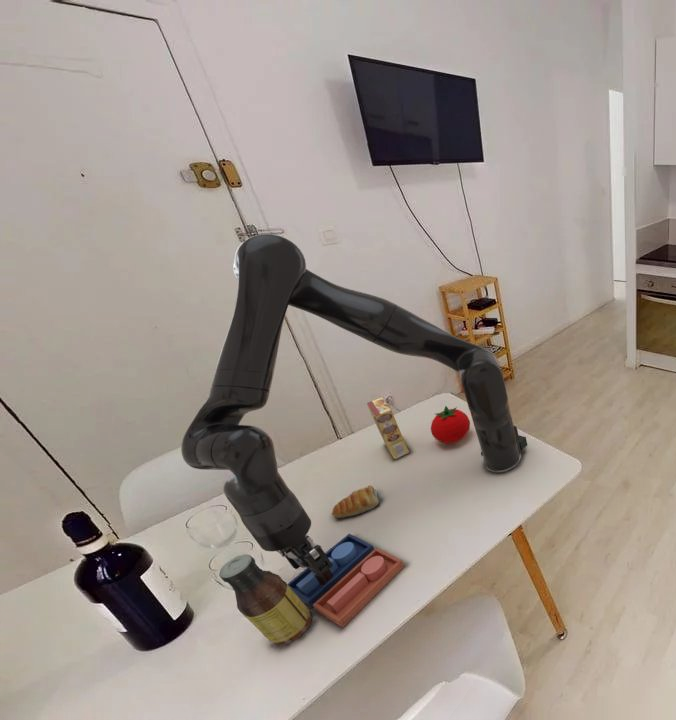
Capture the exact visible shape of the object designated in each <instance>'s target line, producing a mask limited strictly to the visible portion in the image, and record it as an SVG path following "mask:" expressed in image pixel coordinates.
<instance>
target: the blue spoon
mask: <svg viewBox="0 0 676 720" xmlns="http://www.w3.org/2000/svg"><path fill="white" fill-rule="evenodd" d="M357 554H358V552H357V550H356V548H355V546H354V544H353V543H351V542H345V543H342V544H340V545H339V546H337V547H336V548H335V549H334V550H333V552H332V554H331V556H332V558H333V559H332V558H330V557H329V558H328V559H329V560H330V562H331V563H332V565H333V566H332V567H331V568H330V571H331V572H332V573H333V572H335V571H336V570H337V569H338V568H339V567H338V566H344V565H347V564H349V563H350V562H351V561H352V560H354V559H355V558H356V556H357ZM318 585H320V584H319V582H318V581H317V579H316V578H315V576H314V575H312V574H311V573H310V574H308V575H307V576H306V577H305V578H304V579H302V580H301V581H300V582H299V583H298V584H296V586H297V587H298V588H299V590H300V591H301V592H302V593H303V594H305V595H306V596H307V595H308V594H309V593H310V592H312V591H313V590H314V589H315V588H316V587H317V586H318Z"/></svg>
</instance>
